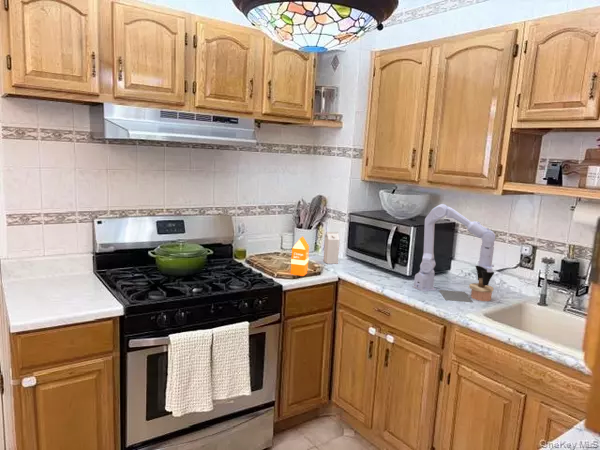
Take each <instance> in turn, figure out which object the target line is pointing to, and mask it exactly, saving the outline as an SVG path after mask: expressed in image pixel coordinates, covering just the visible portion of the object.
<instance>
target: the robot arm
mask: <svg viewBox="0 0 600 450" xmlns="http://www.w3.org/2000/svg"><path fill="white" fill-rule="evenodd" d="M444 217H446V218H447V219H453V220H455V221H457V222H459V223H460V224H462V225H464V226H465V227H466V228H467V231H468V232H469V233H470V234H472V235H474V236H475V237H477V238H478V239H481V245H480V253H479V259H478V263H477V264H478V265H475V266H474V267H475V270H476V273H477V275H476V276H477V281H478V282H479V278H483V285H487V286H488V285H489V284H490V281H491V278H492V277H493V276H494V275H495V272H494V271H493V268H494V267H495V265H494V264H493V258H494V250H495V247H494V246H495V241H496V234H495V232H494V231H493V230H492V229H490V228H489V227H485V226H483V225H482V224H481V222H480V221H476V220H470V219H468V218H467V217H466V216H464V215H463V214H461V213H460V212H459V211H457V210H456V209H454V208H453V207H451V206H448V205H447V204H445V203H440V204H438V205H437V206H434V207H433V208H431V210H430V212H429V213H428V214H427V215H426V217H425V218H424V231H423V232H424V234H423V235H424V236H423V253H422V260H421V263H420V265H419V268H420V269H419V271H418V272H417V273H415V275H414V281H413V286H412V288H414V289H417V290H419V291H421V292H429V291H436V290H437V288H436V287H434V280H435V273H436V272H435V270H434V269H435V267H436V266H437V265H436V263H437V262H436V260H435V253H434V246H435V224H436V222H437V221H439V220H440V219H444Z"/></svg>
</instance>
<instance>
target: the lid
mask: <svg viewBox="0 0 600 450" xmlns="http://www.w3.org/2000/svg"><path fill="white" fill-rule="evenodd" d="M468 288H469V289H470V290H471V291H472V290H475V291H479V292H492V293H493V292H494V290H495V289H494V287H493V286H491V285H489V284H488V286H487V285H483V278H479V281H478V282H475V283H470V284H469V286H468Z"/></svg>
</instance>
